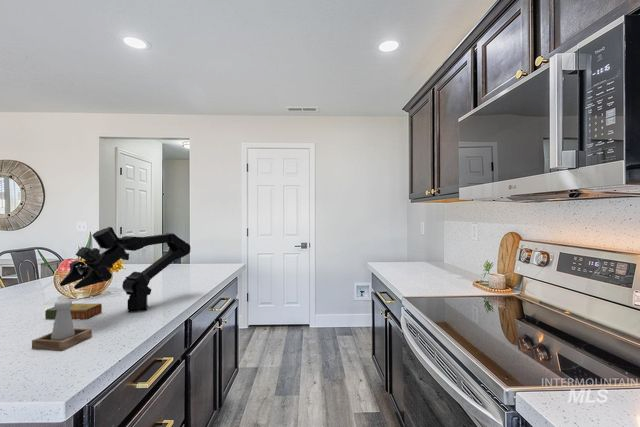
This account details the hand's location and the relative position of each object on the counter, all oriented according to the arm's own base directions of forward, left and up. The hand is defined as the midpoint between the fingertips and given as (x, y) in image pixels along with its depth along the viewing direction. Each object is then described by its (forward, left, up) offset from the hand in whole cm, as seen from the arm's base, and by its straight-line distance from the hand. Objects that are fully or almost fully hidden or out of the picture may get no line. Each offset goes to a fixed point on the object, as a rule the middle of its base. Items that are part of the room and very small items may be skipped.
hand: (67, 286), depth 108 cm
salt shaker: (-3, +12, -15) cm, 20 cm away
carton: (+3, -17, -16) cm, 23 cm away
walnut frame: (-3, +12, -15) cm, 19 cm away
